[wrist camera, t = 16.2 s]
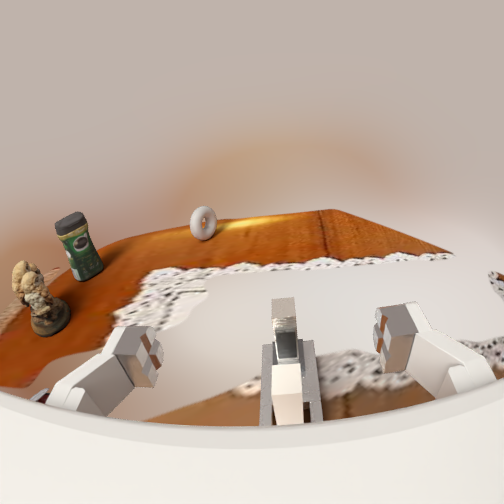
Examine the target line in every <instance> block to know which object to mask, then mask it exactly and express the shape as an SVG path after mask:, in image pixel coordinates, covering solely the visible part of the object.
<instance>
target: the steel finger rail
mask: <svg viewBox="0 0 504 504" xmlns="http://www.w3.org/2000/svg"><path fill="white" fill-rule="evenodd" d="M272 324H273V331H274V338H275V342H273V344H266V345H263V350H262V352H263V353H262V377H261V401H260V424H259V426H273V412H274V407H273V401H272V396H271V389H272V365H284V364H296V363H300V368H301V382H302V399H303V410H307V409H310V420H311V423H313V422H322V421H323V415H322V406H321V398H320V389H319V381H318V373H317V365H316V357H315V351H314V343H313V340H311V341H303V340H302V339H297V326H296V313H295V303H294V297H292V298H283V299H282V298H281V299H272Z"/></svg>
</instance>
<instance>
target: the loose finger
mask: <svg viewBox="0 0 504 504" xmlns="http://www.w3.org/2000/svg"><path fill="white" fill-rule="evenodd" d="M271 396H272V401H273V407H274V412H275V418H276V423H277V425H290V424H302V423H304V420H303V399H302V382H301V368H300V363H296V364H284V365H272V389H271Z"/></svg>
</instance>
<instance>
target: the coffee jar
mask: <svg viewBox="0 0 504 504" xmlns="http://www.w3.org/2000/svg"><path fill="white" fill-rule="evenodd" d="M55 229H56V232H57V236H58V238H59V239H60V240H61V241H62V243H63V245H64V248H65V250H66V253H67V256H68V259H69V263H70V266H71V269H72V272H73V275H74V277H75V279H76V280H78V281H86V280H88V279H90V278H91V277H93V276H94V275H96V274H97V273H99V272H100V271H102V269H103V267H104V265H103V263H102V261H101V259H100V257H99V255H98V253H97V251H96V249H95V247H94V245H93V243H92V241H91V238H90V236H89V232H88V223H87V221H86V219H85V217H84V215H83V213H81V212H75V213H73V214H71V215H69V216H67V217H65V218H63V219H61V220H59V221H58V222H56V223H55Z"/></svg>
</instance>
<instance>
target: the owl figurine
mask: <svg viewBox="0 0 504 504" xmlns="http://www.w3.org/2000/svg"><path fill="white" fill-rule="evenodd" d="M12 280H13V281H12V289H13V291H14V293H15V295H16V296H17V298H19V300H20V302H21V303H22V304H23V305H25V306H26V307H29V304H30V305H31V307H30V308H31V309H30V310H31V312H32V313H31V316H32V318H31V326H32V328H33V330H34V332H35V333H36V334H37V335H39V336H41V337H47V336H52V335H53V334H54V333H56V332H58V331H59V330H61V329H63V328H65V326H66V325H67V324H68V322H69V320H70V315H71V314H70V312H71V311H70V308H69V306H68V304H67V303H66V302H65V301H64V300H61V299H59V298H57V297H55V298H54V297H53V296H52V295H51V294H50V292H49V290H48V288H47V287H46V286H45V285H44V277H43V275H42V274H41V273H40V270H39V269H38V268H37V266H36V265H35V264H28V262H26V261H20V262H19V263H18V264H17V265H16V266H15V268H14V269H13V272H12ZM68 310H69V311H68ZM67 311H68V312H67ZM46 317H47V318H46Z"/></svg>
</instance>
